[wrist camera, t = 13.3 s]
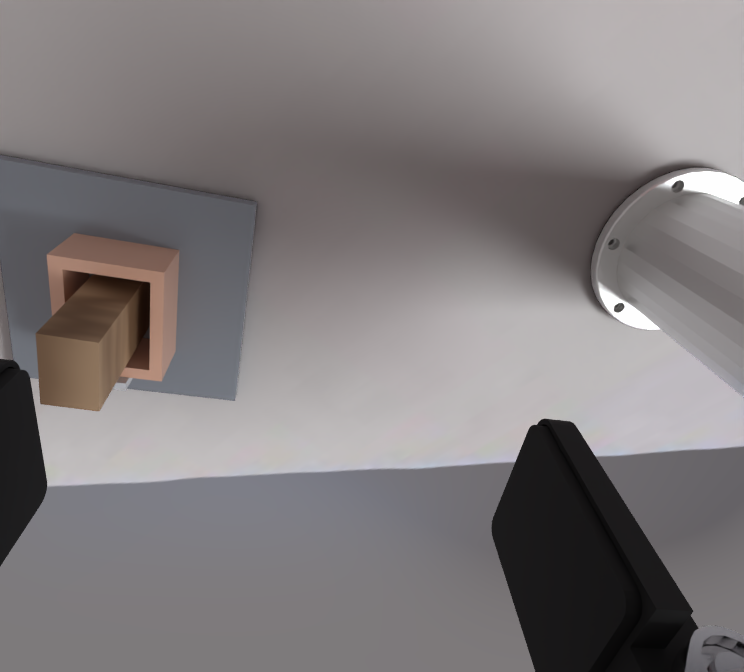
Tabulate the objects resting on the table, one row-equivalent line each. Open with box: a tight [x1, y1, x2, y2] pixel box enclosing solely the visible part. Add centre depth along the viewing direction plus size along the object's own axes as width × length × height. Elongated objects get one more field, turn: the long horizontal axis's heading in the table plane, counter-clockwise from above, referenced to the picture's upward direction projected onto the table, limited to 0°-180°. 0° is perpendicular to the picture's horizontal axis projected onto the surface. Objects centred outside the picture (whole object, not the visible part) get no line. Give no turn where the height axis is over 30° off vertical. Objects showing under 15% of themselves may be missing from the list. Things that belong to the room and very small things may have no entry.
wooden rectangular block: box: [36, 274, 150, 411], centre depth 32 cm, size 3×4×10 cm, turn 166°
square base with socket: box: [0, 155, 257, 401], centre depth 35 cm, size 16×16×6 cm
